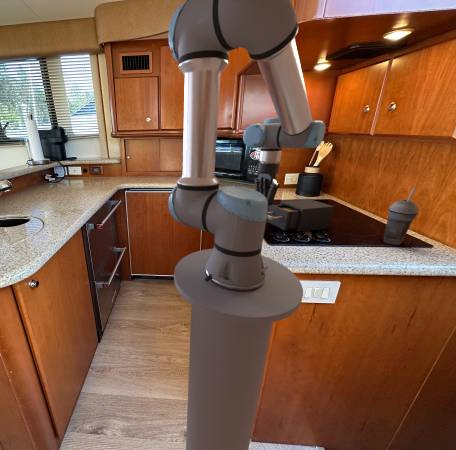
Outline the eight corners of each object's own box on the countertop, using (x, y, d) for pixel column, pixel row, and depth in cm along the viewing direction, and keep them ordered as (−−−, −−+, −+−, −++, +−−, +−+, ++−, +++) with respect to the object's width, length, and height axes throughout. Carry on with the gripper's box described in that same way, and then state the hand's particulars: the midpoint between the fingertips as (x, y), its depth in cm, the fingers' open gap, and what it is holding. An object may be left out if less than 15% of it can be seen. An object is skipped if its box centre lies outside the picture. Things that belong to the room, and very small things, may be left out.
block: (286, 224, 99) (288, 211, 97) (279, 220, 103) (281, 208, 101) (295, 223, 100) (298, 210, 98) (288, 220, 104) (290, 207, 102)
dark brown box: (298, 231, 96) (302, 209, 93) (277, 221, 108) (280, 201, 105) (328, 228, 99) (334, 206, 96) (305, 218, 111) (309, 198, 107)
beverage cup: (396, 238, 88) (416, 185, 81) (411, 247, 81) (434, 189, 74) (373, 237, 89) (390, 184, 82) (386, 245, 83) (406, 189, 76)
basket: (272, 231, 94) (275, 213, 92) (255, 222, 105) (257, 205, 102) (313, 227, 98) (317, 209, 95) (293, 218, 108) (296, 202, 106)
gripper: (290, 163, 85) (279, 225, 93) (267, 160, 97) (259, 215, 105) (271, 164, 84) (262, 226, 92) (250, 161, 96) (244, 216, 104)
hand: (260, 220), depth 99 cm, fingers closed
